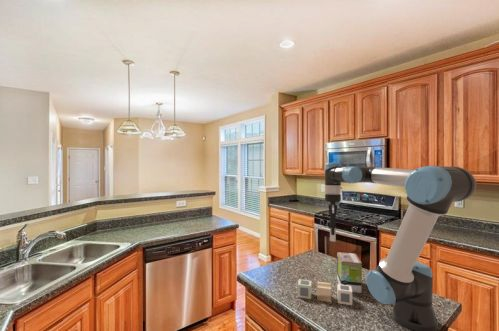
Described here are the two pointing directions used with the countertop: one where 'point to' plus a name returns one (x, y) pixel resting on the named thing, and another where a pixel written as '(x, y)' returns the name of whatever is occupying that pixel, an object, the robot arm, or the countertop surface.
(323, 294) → the plain block
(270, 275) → the countertop surface
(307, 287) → the labelled block
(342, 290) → the labelled block
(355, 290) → the tea box
